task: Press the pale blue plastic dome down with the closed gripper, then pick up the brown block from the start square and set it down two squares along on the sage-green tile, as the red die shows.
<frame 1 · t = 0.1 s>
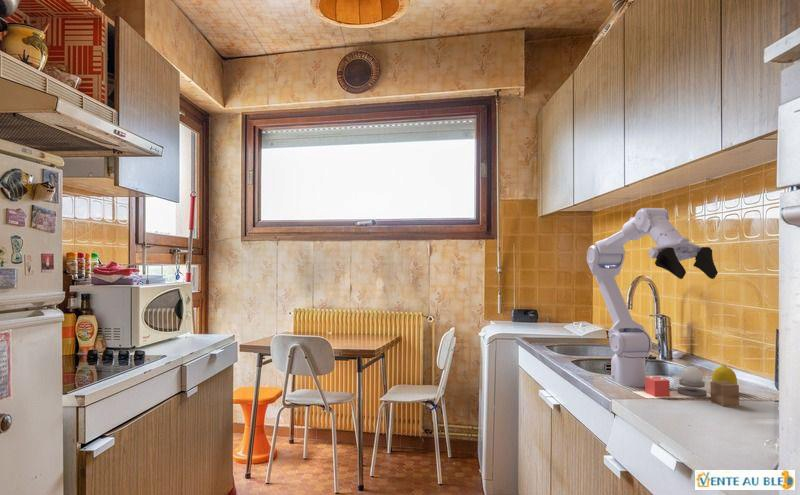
hand: (698, 275, 106), 32 cm above the counter, tool tilted 50°, fingers open, 7 cm apart
lemon: (724, 396, 124), on the counter
die: (657, 394, 120), resting on game board
game board: (688, 403, 115), on the counter
dome: (691, 375, 121), point 6 cm above the counter, slide at 0.0 cm
brown block: (725, 408, 112), on the counter
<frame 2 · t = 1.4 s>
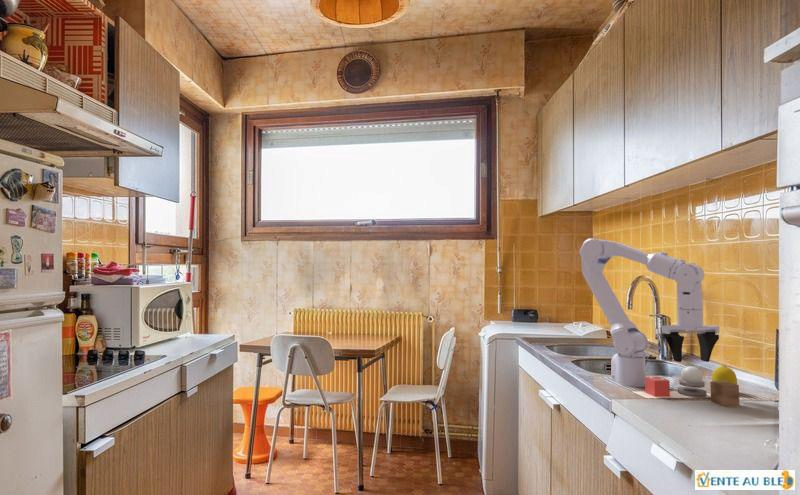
hand: (691, 361, 122), 9 cm above the counter, tool pointing down, fingers open, 7 cm apart
nothing on the counter moved.
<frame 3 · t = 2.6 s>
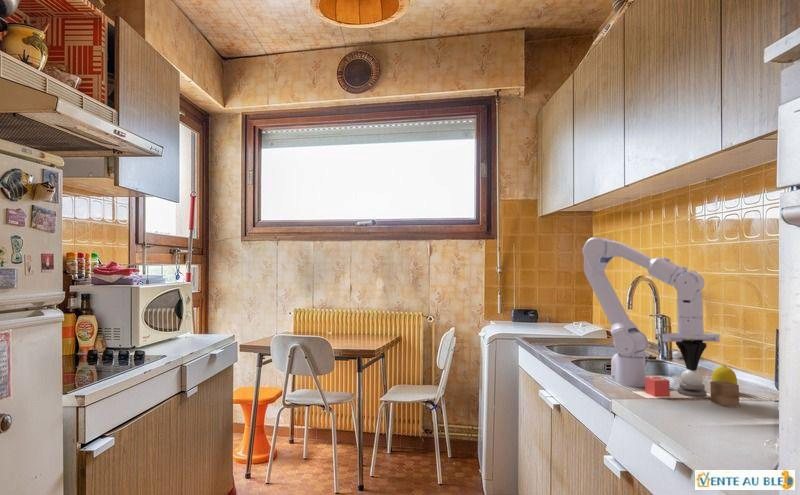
hand: (691, 369, 121), 7 cm above the counter, tool pointing down, fingers closed, pressing on dome
dome: (691, 378, 121), point 5 cm above the counter, slide at 0.7 cm, touching gripper
everything else where it was.
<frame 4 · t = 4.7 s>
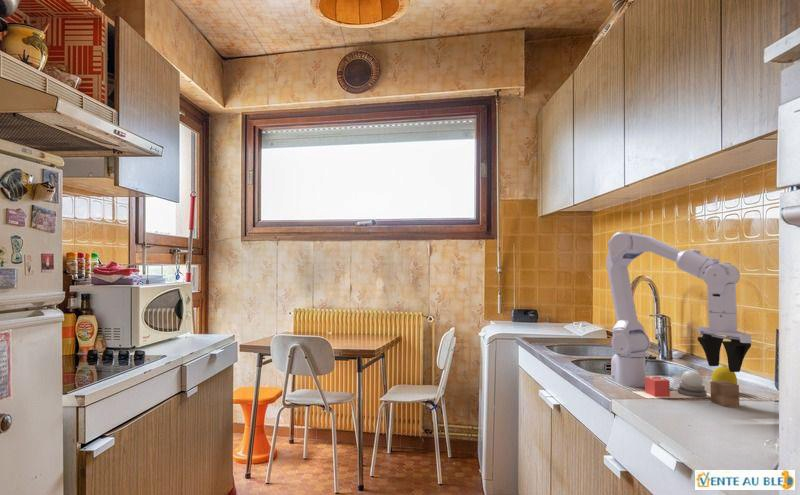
hand: (723, 368, 112), 9 cm above the counter, tool pointing down, fingers open, 6 cm apart
dome: (691, 379, 121), point 5 cm above the counter, slide at 1.1 cm
everything else where it was.
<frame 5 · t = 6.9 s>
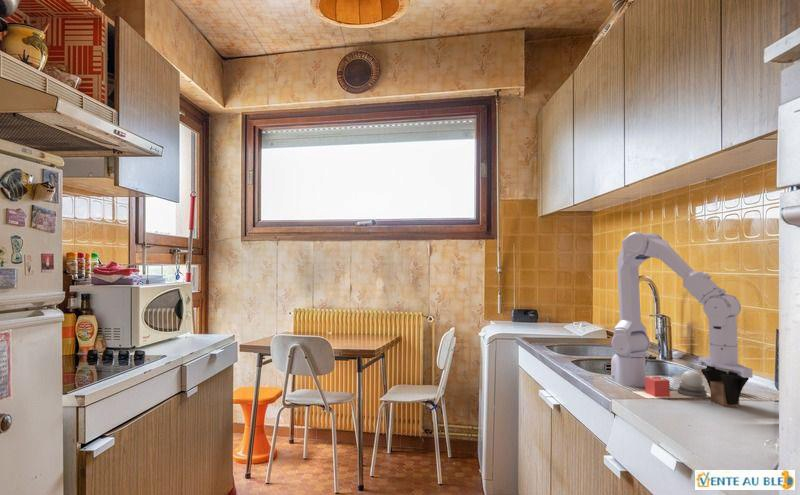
hand: (724, 401, 112), 2 cm above the counter, tool pointing down, fingers closed on brown block, 4 cm apart
brown block: (725, 408, 112), on the counter, touching gripper
everything else where it was.
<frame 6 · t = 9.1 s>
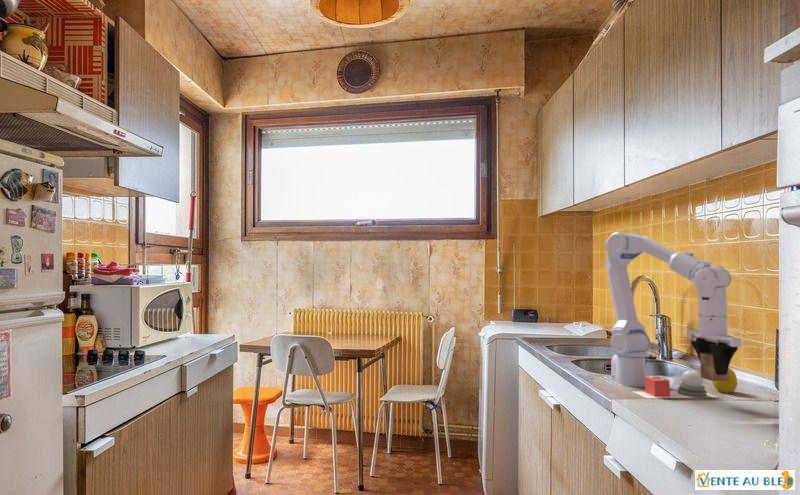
hand: (714, 372, 112), 9 cm above the counter, tool pointing down, fingers closed on brown block, 4 cm apart
brown block: (714, 379, 112), point 7 cm above the counter, touching gripper
everything else where it was.
when the fingers open (3 cm above the counter, at t = 11.7 s): brown block drops 1 cm, resting on game board.
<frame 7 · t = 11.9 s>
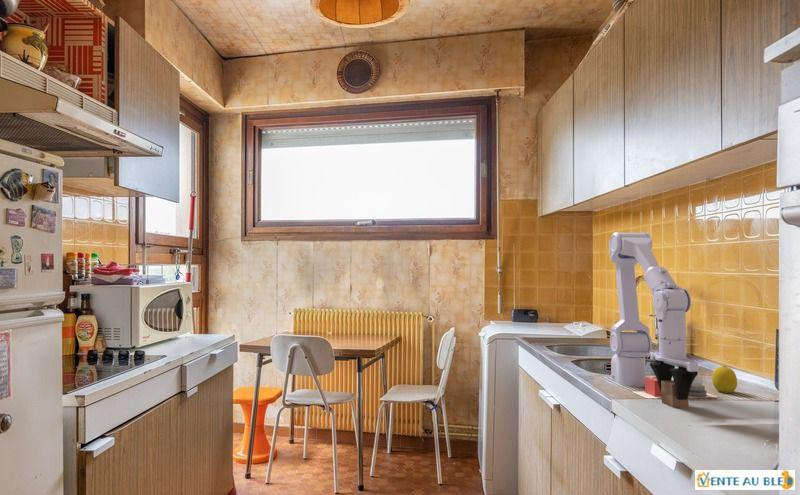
hand: (673, 395, 111), 3 cm above the counter, tool pointing down, fingers open, 5 cm apart
brown block: (675, 407, 111), resting on game board
everything else where it was.
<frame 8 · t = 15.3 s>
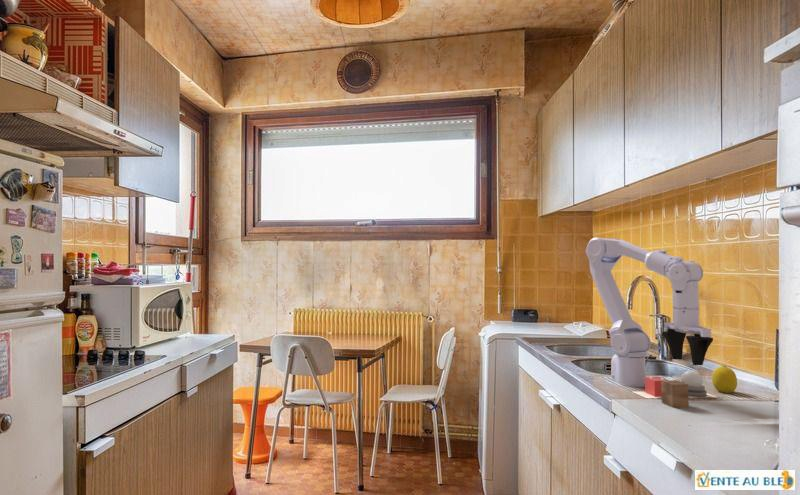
hand: (687, 362, 118), 10 cm above the counter, tool pointing down, fingers open, 7 cm apart
nothing on the counter moved.
at the end: dome slide at 1.1 cm; brown block 0.4 cm from the target spot, resting on game board; brown block tilted 0° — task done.
